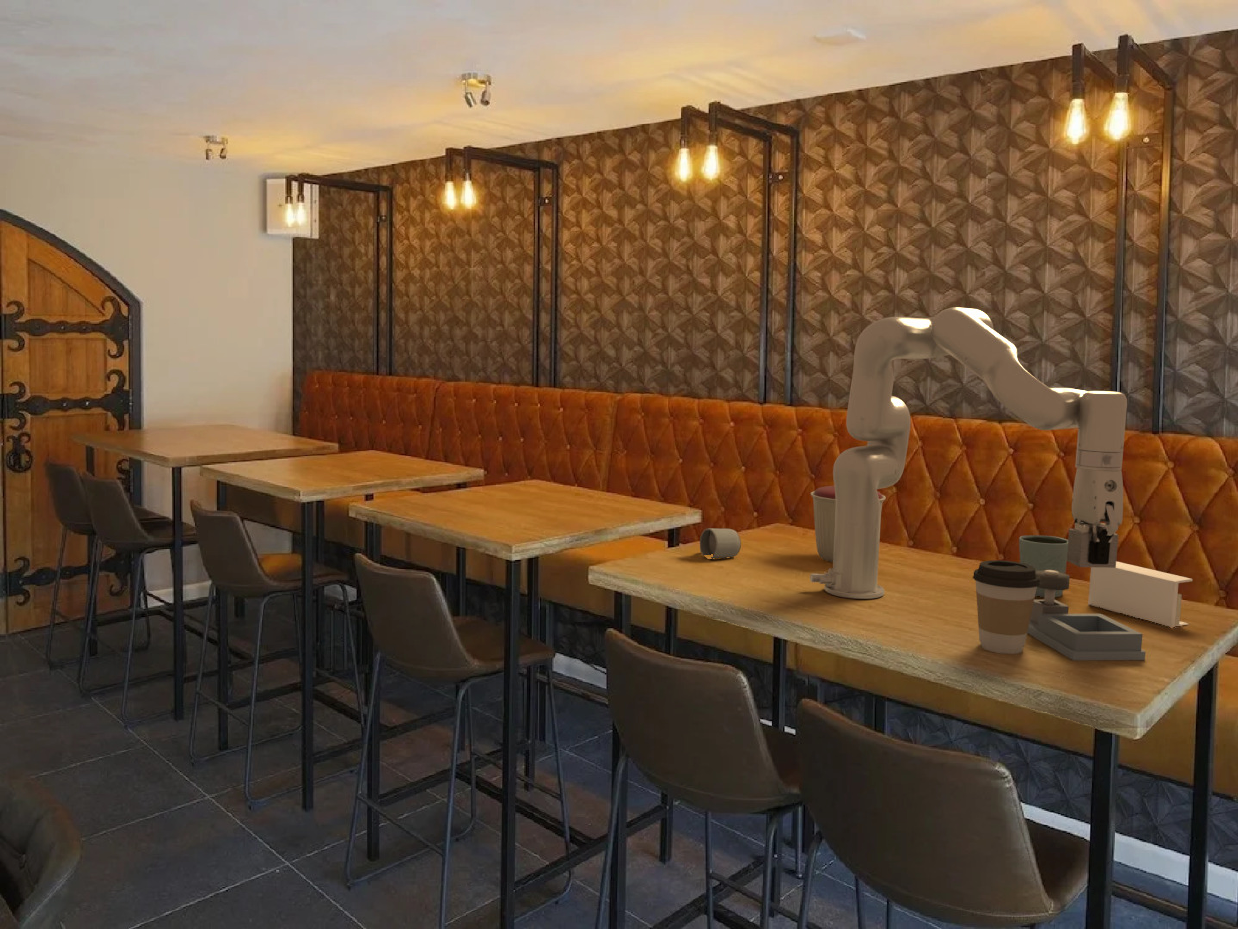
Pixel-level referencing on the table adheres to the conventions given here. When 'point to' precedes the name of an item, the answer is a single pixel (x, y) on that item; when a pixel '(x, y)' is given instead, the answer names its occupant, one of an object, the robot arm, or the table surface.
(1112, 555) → the beige block
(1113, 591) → the beige beam
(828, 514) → the canister
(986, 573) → the coffee cup
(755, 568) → the table surface
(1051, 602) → the round knob on base
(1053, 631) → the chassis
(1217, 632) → the table surface
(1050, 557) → the green tumbler
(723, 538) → the ceramic mug
